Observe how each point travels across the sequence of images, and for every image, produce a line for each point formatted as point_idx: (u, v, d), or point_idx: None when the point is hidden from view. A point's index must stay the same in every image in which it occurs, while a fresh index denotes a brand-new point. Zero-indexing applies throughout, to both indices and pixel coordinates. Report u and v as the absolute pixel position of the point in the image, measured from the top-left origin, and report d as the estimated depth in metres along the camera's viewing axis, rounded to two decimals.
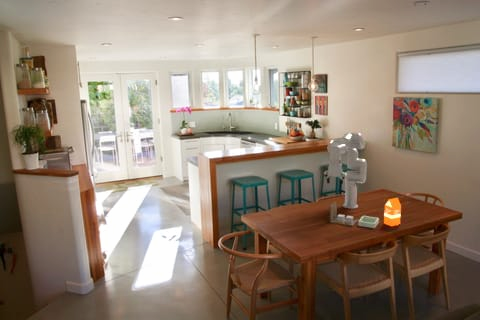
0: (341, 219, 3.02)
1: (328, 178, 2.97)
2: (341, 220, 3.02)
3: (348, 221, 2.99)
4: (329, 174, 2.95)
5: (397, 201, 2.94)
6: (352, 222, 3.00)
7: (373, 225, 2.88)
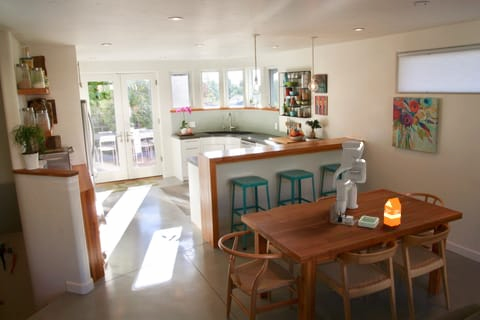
0: None
1: None
2: None
3: (348, 221, 2.99)
4: (342, 212, 2.99)
5: (397, 201, 2.94)
6: (352, 222, 3.00)
7: (373, 225, 2.88)
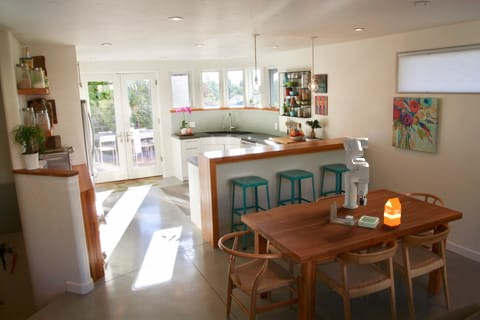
0: None
1: None
2: None
3: (348, 221, 2.99)
4: (364, 194, 2.92)
5: (397, 201, 2.94)
6: (352, 222, 3.00)
7: (373, 225, 2.88)
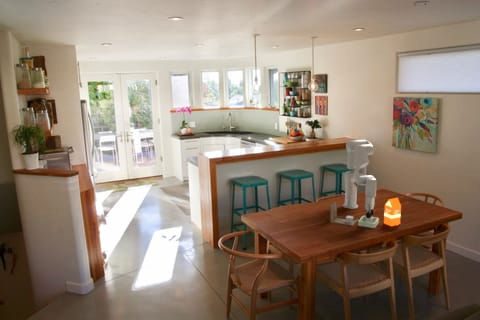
0: (370, 221, 2.97)
1: (369, 213, 2.94)
2: (370, 222, 2.97)
3: (348, 221, 2.99)
4: (371, 208, 2.93)
5: (397, 201, 2.94)
6: (352, 222, 3.00)
7: (373, 225, 2.88)
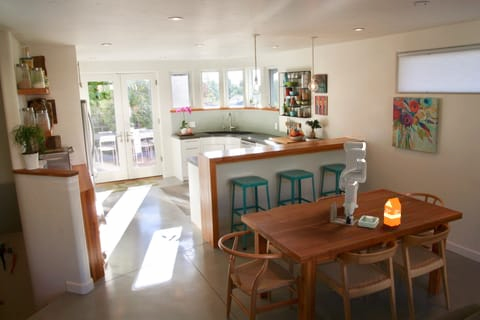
0: (370, 221, 2.97)
1: (349, 218, 2.98)
2: (370, 222, 2.97)
3: None
4: (351, 213, 2.95)
5: (397, 201, 2.94)
6: (352, 222, 3.00)
7: (373, 225, 2.88)
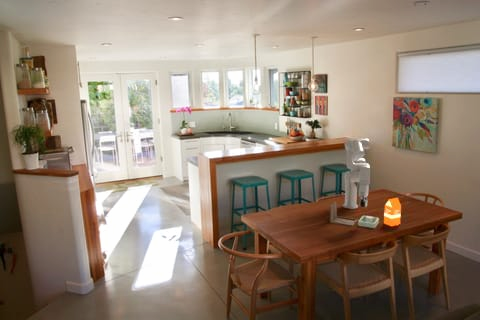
0: (370, 221, 2.97)
1: (363, 201, 2.90)
2: (370, 222, 2.97)
3: None
4: (365, 196, 2.88)
5: (397, 201, 2.94)
6: (366, 205, 2.93)
7: (373, 225, 2.88)
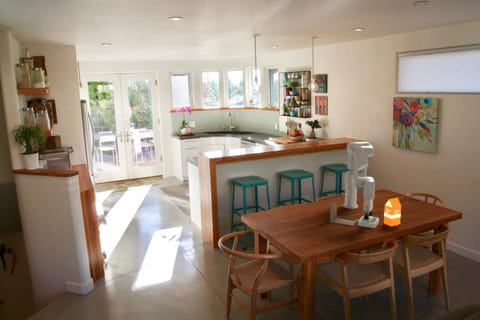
0: None
1: (367, 214, 2.89)
2: None
3: None
4: (370, 210, 2.89)
5: (397, 201, 2.94)
6: None
7: (373, 225, 2.88)
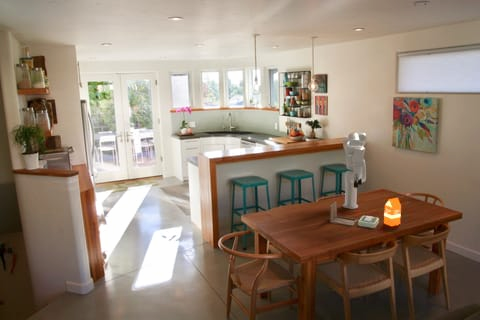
0: None
1: None
2: None
3: None
4: (359, 177, 2.94)
5: (397, 201, 2.94)
6: None
7: (373, 225, 2.88)
